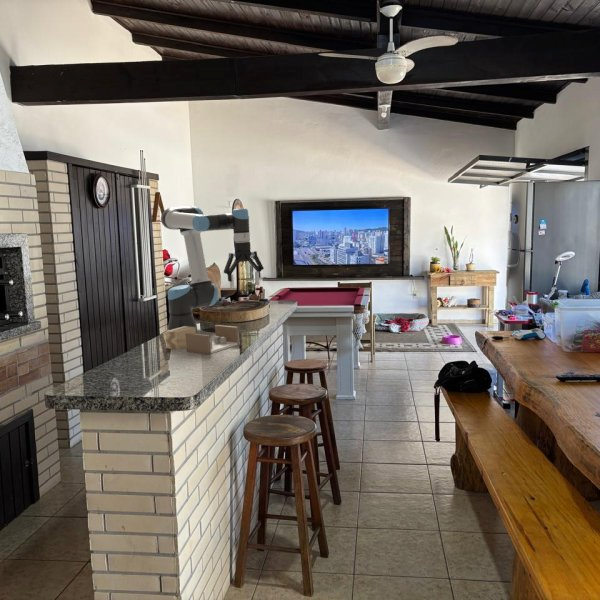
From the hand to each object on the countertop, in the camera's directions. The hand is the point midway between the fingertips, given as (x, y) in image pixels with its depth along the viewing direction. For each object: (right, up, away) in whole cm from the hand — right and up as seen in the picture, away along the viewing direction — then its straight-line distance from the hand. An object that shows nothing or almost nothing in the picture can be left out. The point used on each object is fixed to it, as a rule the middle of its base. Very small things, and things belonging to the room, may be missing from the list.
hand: (245, 286), depth 271 cm
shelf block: (-28, -28, -10) cm, 41 cm away
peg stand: (-12, -28, -18) cm, 35 cm away
